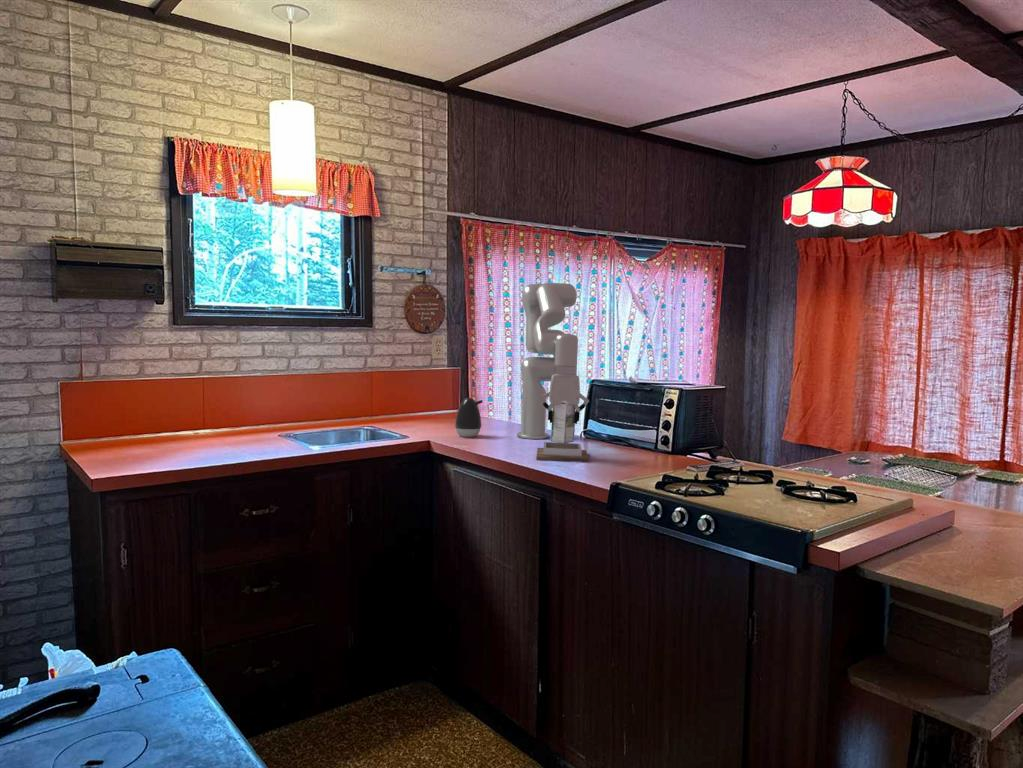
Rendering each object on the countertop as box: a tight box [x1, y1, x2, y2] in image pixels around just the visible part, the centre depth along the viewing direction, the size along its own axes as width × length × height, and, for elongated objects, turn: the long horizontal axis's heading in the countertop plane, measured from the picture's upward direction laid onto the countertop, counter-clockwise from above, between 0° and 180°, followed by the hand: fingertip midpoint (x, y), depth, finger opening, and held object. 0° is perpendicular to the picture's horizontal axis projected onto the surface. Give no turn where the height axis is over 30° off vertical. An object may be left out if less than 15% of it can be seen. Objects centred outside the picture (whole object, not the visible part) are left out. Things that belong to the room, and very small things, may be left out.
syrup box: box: [550, 400, 576, 443], centre depth 250 cm, size 6×6×14 cm
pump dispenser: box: [454, 397, 484, 438], centre depth 287 cm, size 10×10×15 cm
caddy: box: [535, 441, 589, 463], centre depth 251 cm, size 17×17×4 cm
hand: (563, 422), depth 250 cm, fingers closed on syrup box, 8 cm apart
